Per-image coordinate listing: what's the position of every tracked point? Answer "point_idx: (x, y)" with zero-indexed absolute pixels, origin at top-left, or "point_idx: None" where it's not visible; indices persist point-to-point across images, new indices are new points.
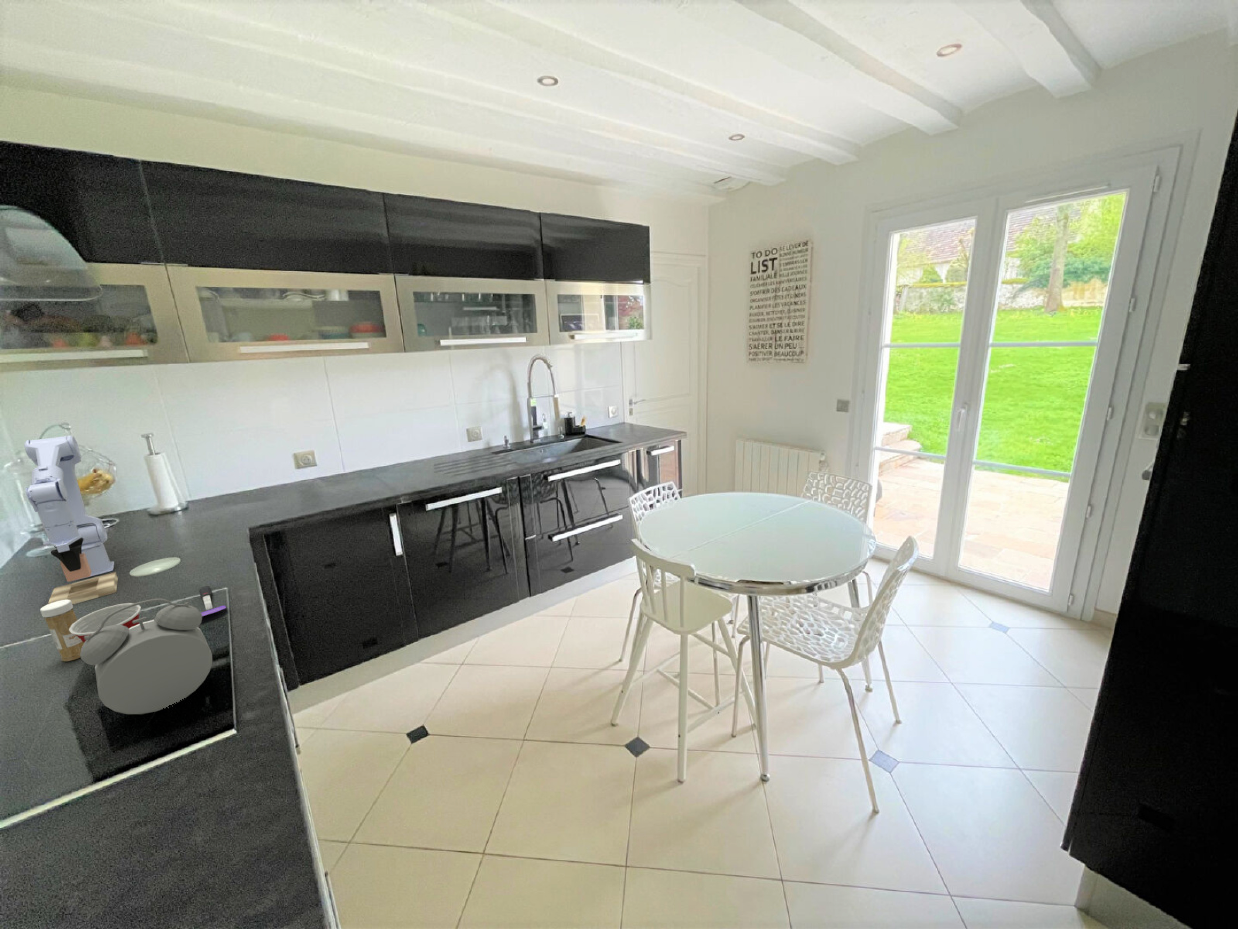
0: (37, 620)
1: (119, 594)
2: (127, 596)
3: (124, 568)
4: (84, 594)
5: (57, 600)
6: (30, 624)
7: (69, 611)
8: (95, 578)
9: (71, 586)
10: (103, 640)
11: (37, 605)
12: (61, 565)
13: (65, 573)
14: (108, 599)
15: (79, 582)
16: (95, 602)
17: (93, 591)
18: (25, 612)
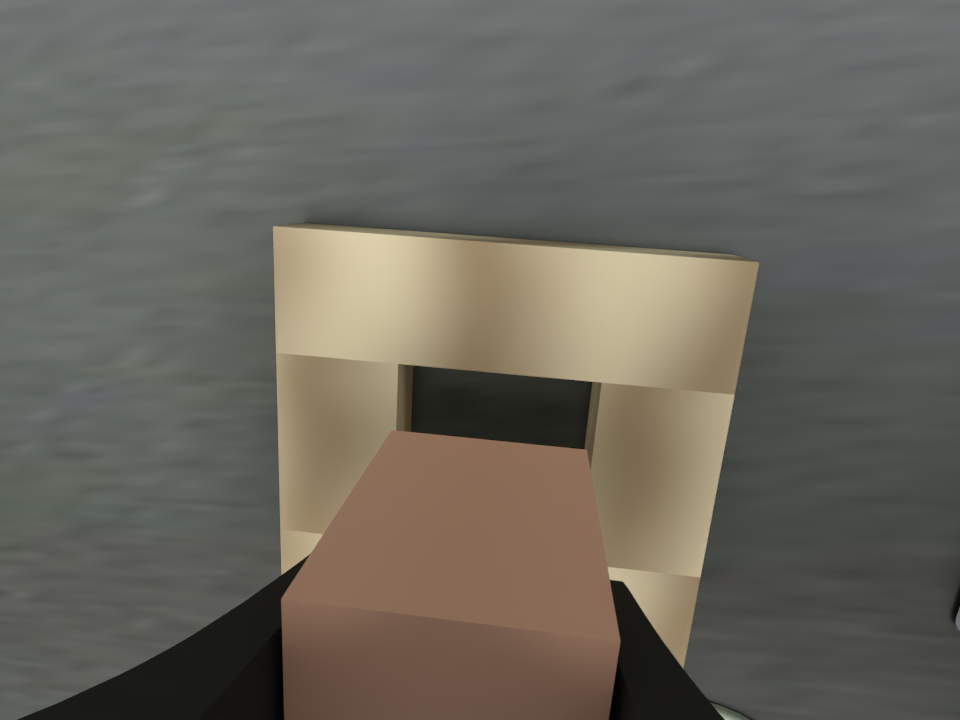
0: (152, 146)
1: (238, 592)
2: (146, 619)
3: (928, 690)
4: (280, 455)
5: (284, 291)
6: (100, 106)
7: None
8: (663, 550)
9: (628, 388)
10: None
11: (577, 124)
12: (306, 566)
13: (361, 492)
14: (193, 534)
15: (685, 446)
16: (205, 470)
17: (282, 510)
18: (466, 47)
